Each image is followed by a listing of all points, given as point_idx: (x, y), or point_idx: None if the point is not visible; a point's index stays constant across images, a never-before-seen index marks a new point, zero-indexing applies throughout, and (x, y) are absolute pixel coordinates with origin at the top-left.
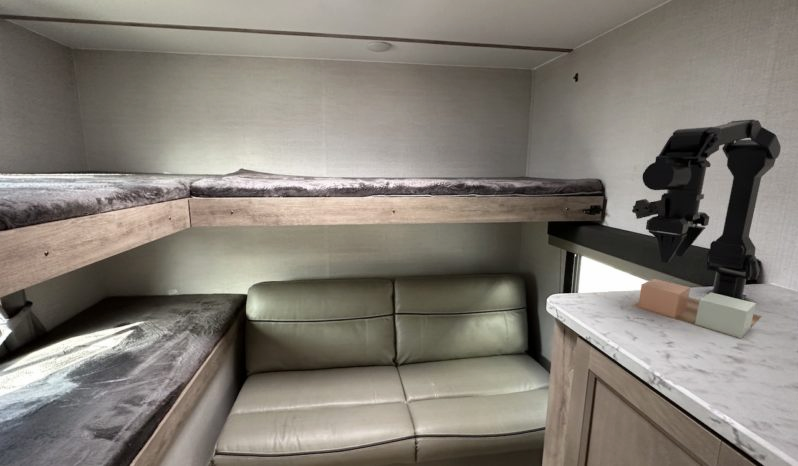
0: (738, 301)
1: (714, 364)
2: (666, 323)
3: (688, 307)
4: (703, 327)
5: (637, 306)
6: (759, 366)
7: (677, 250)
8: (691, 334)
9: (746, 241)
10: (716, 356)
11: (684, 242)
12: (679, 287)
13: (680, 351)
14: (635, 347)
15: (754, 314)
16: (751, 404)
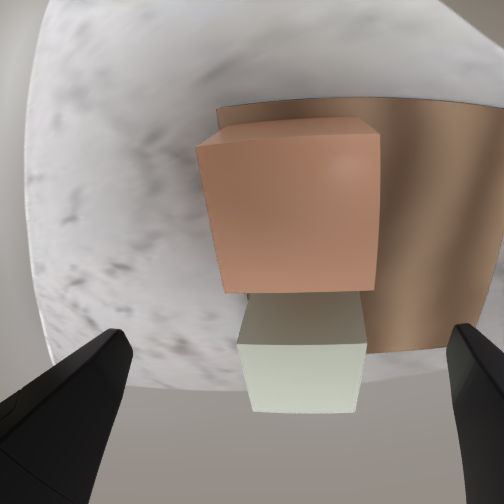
0: (331, 395)
1: (127, 331)
2: None
3: (399, 229)
4: None
5: (227, 122)
6: (194, 368)
7: (466, 362)
8: (215, 280)
9: None
10: (158, 329)
11: (482, 457)
12: (330, 266)
13: (111, 290)
14: (48, 239)
15: None
16: None
